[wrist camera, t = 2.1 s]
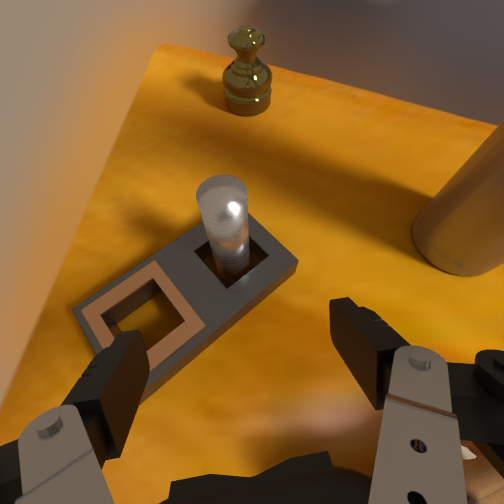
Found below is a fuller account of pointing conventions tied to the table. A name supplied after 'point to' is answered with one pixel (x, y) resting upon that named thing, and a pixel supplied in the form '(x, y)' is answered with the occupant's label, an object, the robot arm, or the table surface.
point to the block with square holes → (185, 298)
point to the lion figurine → (481, 479)
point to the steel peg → (226, 224)
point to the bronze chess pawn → (247, 74)
